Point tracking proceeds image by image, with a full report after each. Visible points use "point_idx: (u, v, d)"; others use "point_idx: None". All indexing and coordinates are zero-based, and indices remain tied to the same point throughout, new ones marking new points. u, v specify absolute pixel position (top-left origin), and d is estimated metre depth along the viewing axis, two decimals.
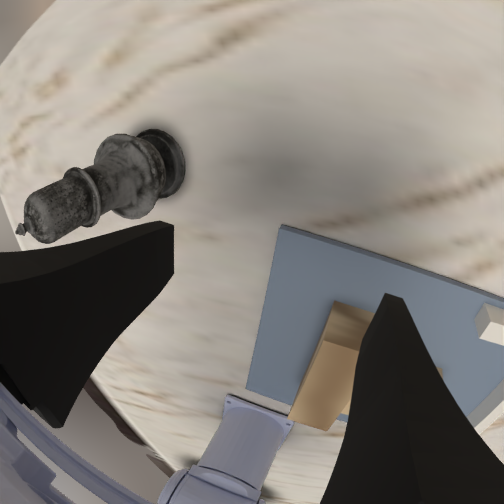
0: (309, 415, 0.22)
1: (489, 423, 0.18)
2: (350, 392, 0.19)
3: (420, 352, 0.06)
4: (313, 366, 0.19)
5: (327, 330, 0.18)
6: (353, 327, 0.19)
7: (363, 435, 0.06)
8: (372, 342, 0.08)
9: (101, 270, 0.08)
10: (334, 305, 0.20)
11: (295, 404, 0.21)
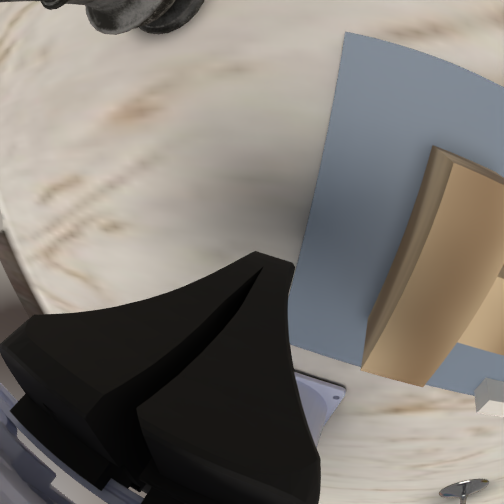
0: (403, 356, 0.12)
1: None
2: (483, 289, 0.09)
3: (273, 305, 0.07)
4: (432, 231, 0.09)
5: (449, 158, 0.09)
6: (477, 167, 0.09)
7: None
8: None
9: (219, 322, 0.07)
10: (436, 147, 0.11)
11: (383, 334, 0.12)
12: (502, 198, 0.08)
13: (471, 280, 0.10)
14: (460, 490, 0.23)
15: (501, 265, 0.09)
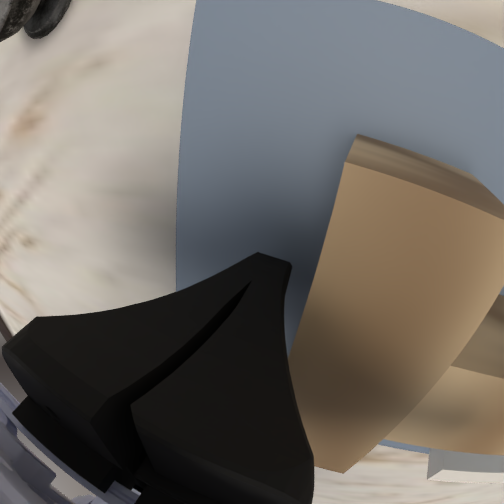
0: None
1: None
2: (424, 383, 0.06)
3: (269, 304, 0.07)
4: (314, 293, 0.06)
5: (353, 153, 0.05)
6: (425, 167, 0.06)
7: None
8: None
9: (222, 323, 0.07)
10: (360, 136, 0.07)
11: None
12: (465, 232, 0.04)
13: (399, 370, 0.06)
14: None
15: (459, 349, 0.05)
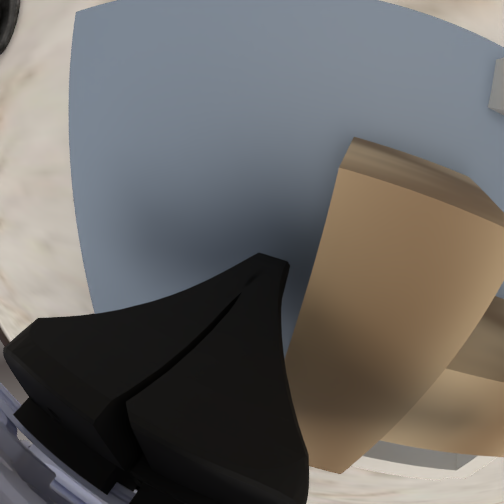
0: None
1: None
2: (419, 385, 0.06)
3: (266, 303, 0.07)
4: (309, 297, 0.06)
5: (348, 157, 0.05)
6: (421, 171, 0.06)
7: None
8: None
9: None
10: (356, 139, 0.07)
11: None
12: (459, 237, 0.04)
13: (395, 373, 0.06)
14: None
15: (454, 352, 0.05)
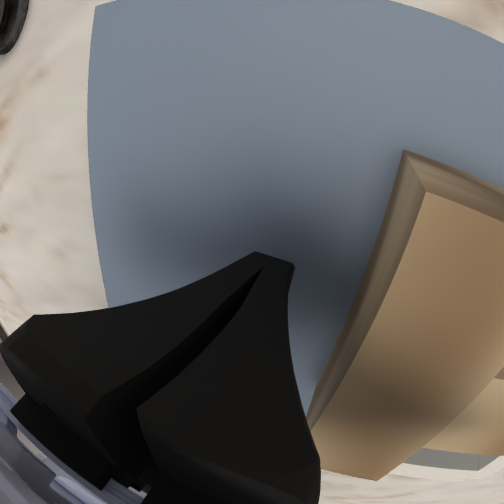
0: (344, 455, 0.08)
1: None
2: (468, 394, 0.05)
3: (273, 306, 0.07)
4: (380, 318, 0.05)
5: (422, 177, 0.05)
6: (478, 190, 0.05)
7: None
8: None
9: (219, 321, 0.07)
10: (408, 153, 0.07)
11: (312, 433, 0.08)
12: None
13: (449, 385, 0.06)
14: None
15: (503, 363, 0.05)
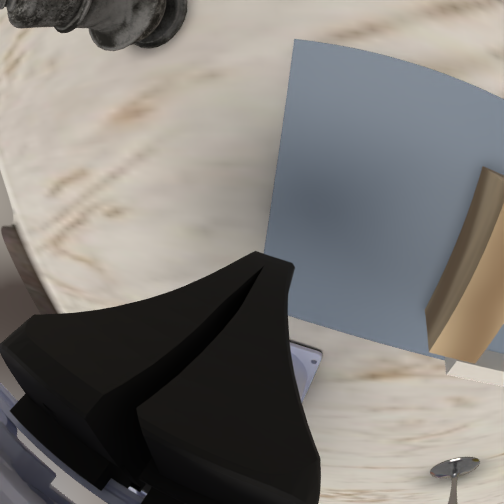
0: (463, 337, 0.14)
1: None
2: None
3: (273, 306, 0.07)
4: (492, 237, 0.11)
5: (503, 181, 0.10)
6: None
7: None
8: None
9: (219, 322, 0.07)
10: (487, 168, 0.12)
11: (450, 319, 0.14)
12: None
13: None
14: (450, 469, 0.25)
15: None
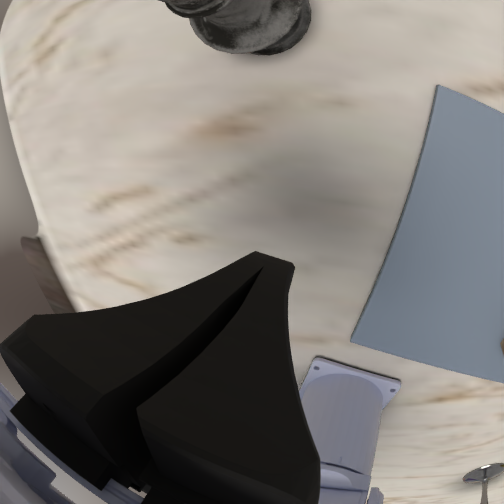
0: None
1: None
2: None
3: (273, 306, 0.07)
4: None
5: None
6: None
7: None
8: None
9: (219, 322, 0.07)
10: None
11: None
12: None
13: None
14: (482, 474, 0.24)
15: None
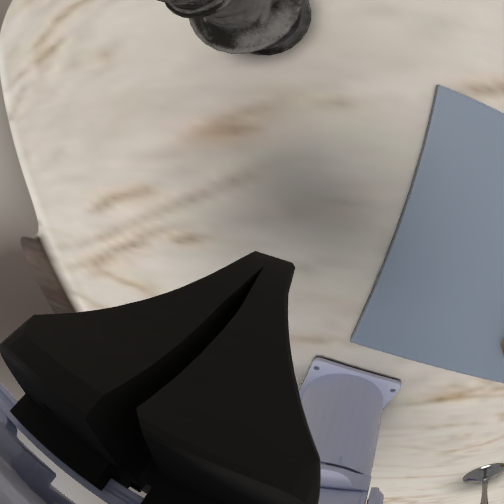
0: None
1: None
2: None
3: (273, 306, 0.07)
4: None
5: None
6: None
7: None
8: None
9: (219, 322, 0.07)
10: None
11: None
12: None
13: None
14: (482, 474, 0.24)
15: None
